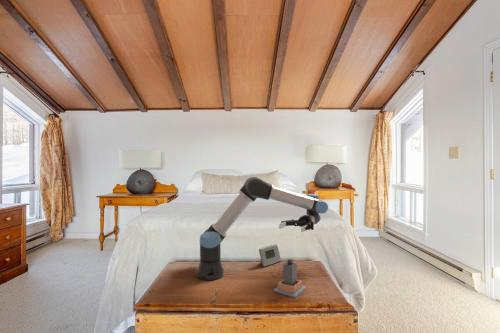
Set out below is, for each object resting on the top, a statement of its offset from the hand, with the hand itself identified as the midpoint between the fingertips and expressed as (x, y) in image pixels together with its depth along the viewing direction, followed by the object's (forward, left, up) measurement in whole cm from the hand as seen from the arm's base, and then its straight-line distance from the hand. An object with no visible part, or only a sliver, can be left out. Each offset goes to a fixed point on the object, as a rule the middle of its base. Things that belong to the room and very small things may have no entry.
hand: (290, 227), depth 152 cm
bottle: (+6, -13, -27) cm, 30 cm away
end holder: (+6, -13, -28) cm, 31 cm away
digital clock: (-21, +14, -28) cm, 38 cm away
